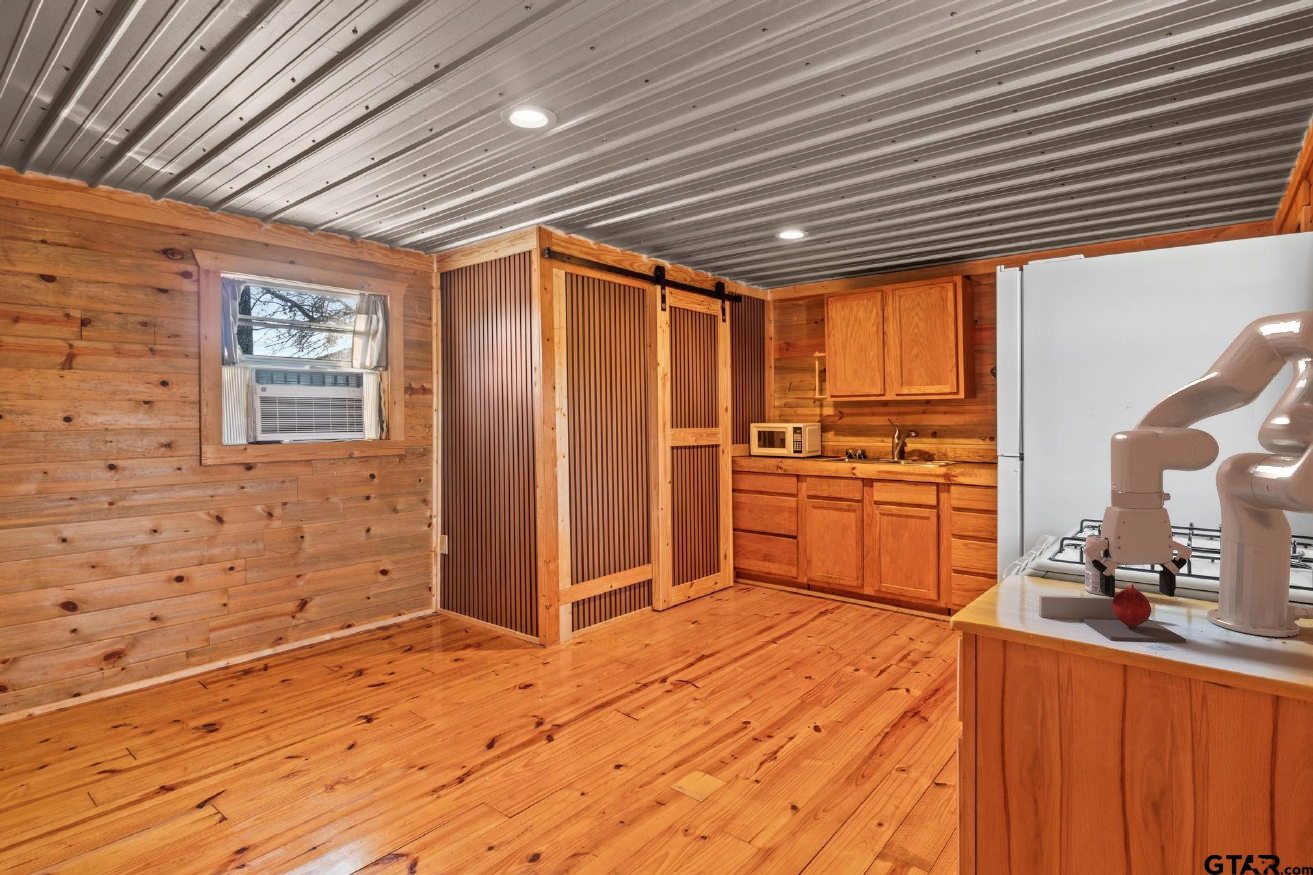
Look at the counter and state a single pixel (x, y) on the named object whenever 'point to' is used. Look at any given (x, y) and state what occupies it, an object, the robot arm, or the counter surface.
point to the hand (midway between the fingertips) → (1137, 594)
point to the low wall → (1076, 607)
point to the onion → (1131, 606)
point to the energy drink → (1093, 569)
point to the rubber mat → (1133, 631)
